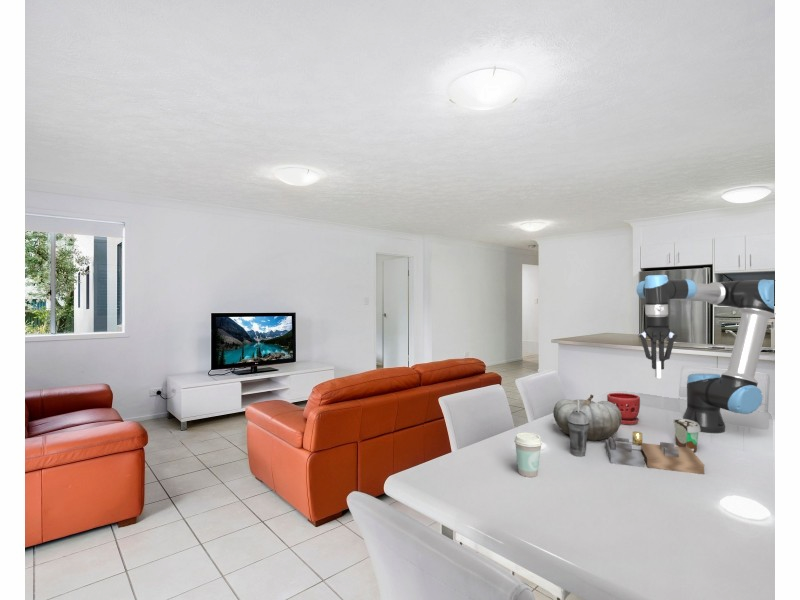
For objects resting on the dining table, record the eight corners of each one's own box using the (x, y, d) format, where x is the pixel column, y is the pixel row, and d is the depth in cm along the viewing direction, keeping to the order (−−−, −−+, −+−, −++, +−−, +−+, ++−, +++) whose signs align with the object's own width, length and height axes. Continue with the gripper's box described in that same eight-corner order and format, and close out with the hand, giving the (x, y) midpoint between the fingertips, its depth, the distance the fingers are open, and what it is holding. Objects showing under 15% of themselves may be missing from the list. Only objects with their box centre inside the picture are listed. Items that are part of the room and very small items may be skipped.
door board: (689, 456, 154) (689, 441, 154) (704, 474, 139) (704, 457, 139) (605, 447, 163) (605, 432, 163) (610, 463, 148) (610, 447, 148)
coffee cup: (527, 481, 134) (527, 442, 134) (508, 471, 142) (508, 434, 141) (547, 475, 138) (548, 438, 138) (528, 466, 146) (528, 430, 145)
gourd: (615, 445, 158) (608, 396, 160) (547, 442, 172) (542, 397, 175) (629, 434, 177) (623, 391, 180) (567, 433, 192) (562, 393, 195)
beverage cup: (589, 452, 158) (589, 397, 157) (588, 459, 151) (589, 402, 151) (568, 449, 161) (568, 395, 161) (566, 456, 154) (566, 399, 154)
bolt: (641, 447, 153) (641, 431, 153) (643, 450, 150) (643, 434, 150) (614, 445, 156) (614, 429, 156) (615, 447, 153) (615, 431, 153)
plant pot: (640, 420, 197) (641, 394, 197) (638, 428, 186) (638, 400, 186) (609, 416, 204) (609, 390, 204) (605, 423, 193) (605, 396, 193)
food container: (707, 456, 154) (707, 428, 154) (687, 454, 156) (688, 427, 155) (691, 444, 166) (691, 418, 166) (673, 443, 168) (673, 417, 167)
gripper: (639, 316, 163) (641, 379, 164) (679, 316, 159) (680, 380, 160) (635, 315, 170) (636, 375, 171) (673, 314, 166) (674, 376, 167)
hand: (658, 377), depth 166 cm, fingers closed
